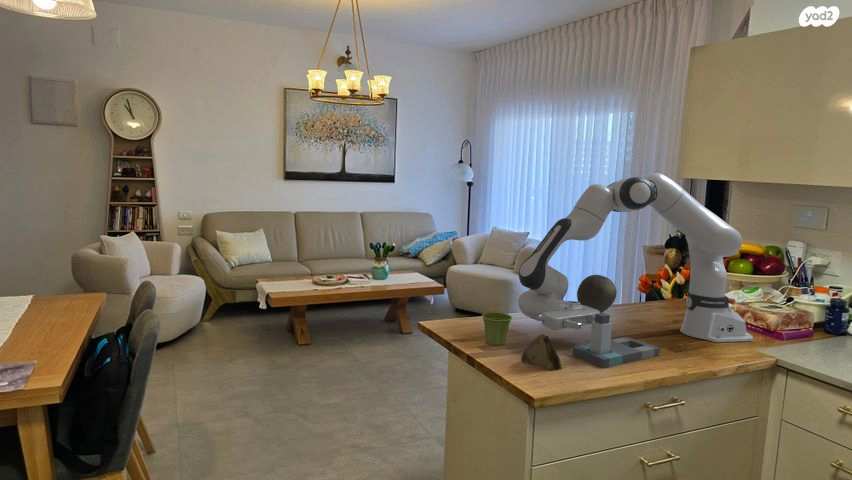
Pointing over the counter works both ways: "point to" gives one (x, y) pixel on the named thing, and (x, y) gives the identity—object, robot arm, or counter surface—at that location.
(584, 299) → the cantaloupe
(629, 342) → the panel
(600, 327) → the plug
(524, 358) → the rock
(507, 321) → the plant pot
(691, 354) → the counter surface
